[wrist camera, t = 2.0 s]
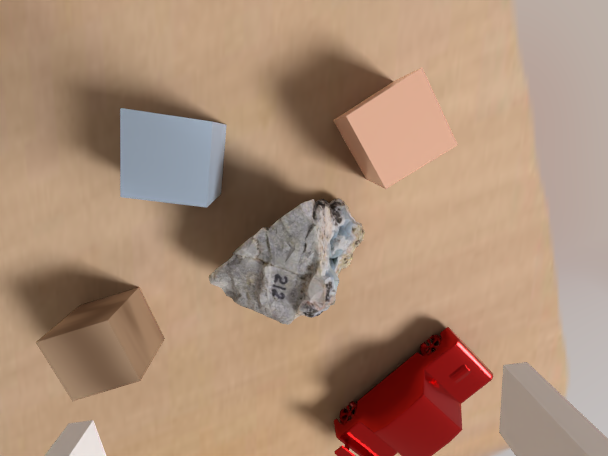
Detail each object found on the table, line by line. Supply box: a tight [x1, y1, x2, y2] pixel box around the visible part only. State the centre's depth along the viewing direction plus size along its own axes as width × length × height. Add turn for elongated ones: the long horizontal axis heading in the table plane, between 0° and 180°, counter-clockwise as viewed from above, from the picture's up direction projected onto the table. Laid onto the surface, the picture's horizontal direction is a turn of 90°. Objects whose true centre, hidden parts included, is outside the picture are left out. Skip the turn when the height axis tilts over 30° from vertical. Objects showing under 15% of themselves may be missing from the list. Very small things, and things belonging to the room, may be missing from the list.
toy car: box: [334, 327, 493, 456], centre depth 28 cm, size 14×6×5 cm, turn 134°
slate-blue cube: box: [120, 108, 226, 207], centre depth 21 cm, size 5×5×5 cm
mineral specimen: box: [209, 199, 364, 324], centre depth 24 cm, size 10×8×10 cm
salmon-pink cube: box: [333, 68, 458, 189], centre depth 22 cm, size 5×5×5 cm
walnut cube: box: [36, 287, 165, 401], centre depth 25 cm, size 5×5×5 cm
